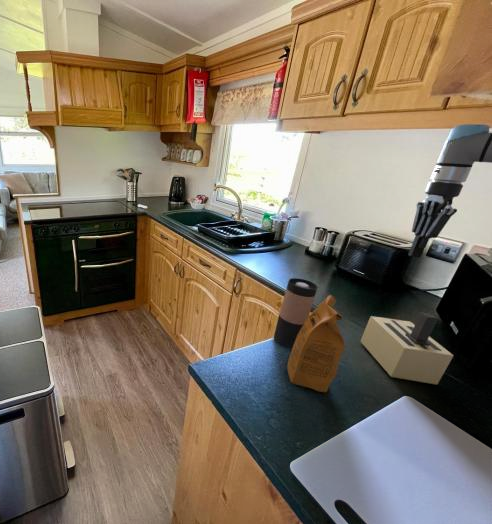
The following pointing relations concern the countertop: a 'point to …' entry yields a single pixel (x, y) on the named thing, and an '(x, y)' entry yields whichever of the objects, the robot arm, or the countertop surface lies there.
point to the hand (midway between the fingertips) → (414, 256)
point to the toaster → (404, 351)
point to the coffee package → (317, 349)
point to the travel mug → (294, 311)
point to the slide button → (423, 329)
